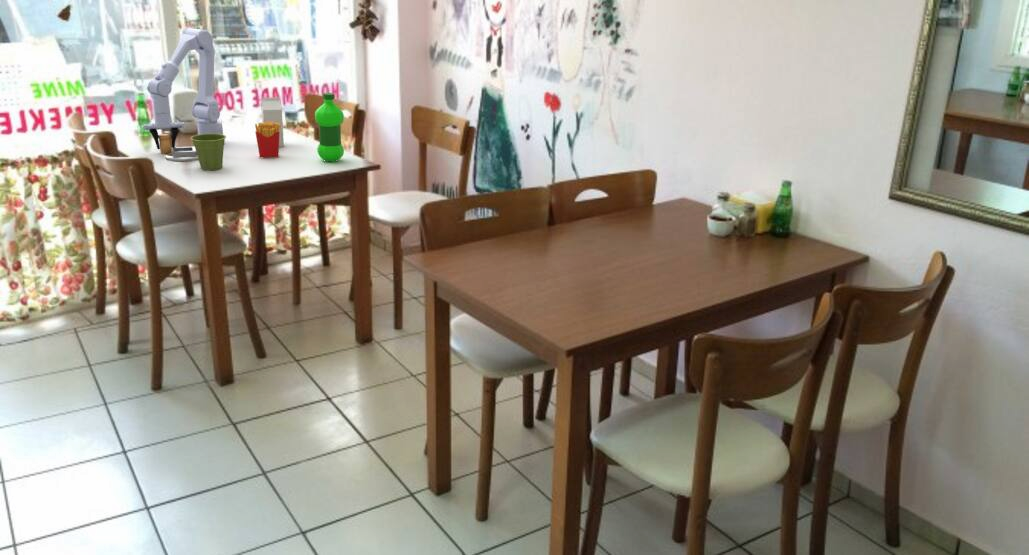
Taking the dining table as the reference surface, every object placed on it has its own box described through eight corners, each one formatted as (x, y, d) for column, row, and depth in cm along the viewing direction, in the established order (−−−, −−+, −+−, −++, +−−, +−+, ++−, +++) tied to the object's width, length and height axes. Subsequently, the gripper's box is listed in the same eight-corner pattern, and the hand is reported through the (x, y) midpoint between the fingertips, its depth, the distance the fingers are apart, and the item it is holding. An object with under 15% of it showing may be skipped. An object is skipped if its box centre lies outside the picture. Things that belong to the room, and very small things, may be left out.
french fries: (257, 158, 313) (254, 123, 309) (256, 155, 317) (254, 121, 312) (282, 157, 316) (280, 123, 311) (281, 154, 320) (279, 121, 315)
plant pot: (209, 162, 304) (206, 131, 300) (235, 166, 300) (233, 135, 296) (186, 169, 294) (182, 137, 290) (213, 174, 290) (210, 142, 286)
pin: (172, 150, 318) (171, 133, 315) (173, 153, 314) (171, 136, 311) (159, 151, 316) (157, 134, 314) (159, 154, 312) (157, 136, 309)
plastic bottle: (341, 156, 321) (339, 91, 312) (346, 163, 312) (344, 96, 303) (315, 157, 318) (312, 91, 309) (319, 164, 309) (316, 96, 300)
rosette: (219, 151, 320) (219, 142, 319) (223, 159, 309) (222, 150, 308) (165, 154, 313) (164, 145, 311) (166, 162, 302) (165, 153, 300)
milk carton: (284, 147, 332) (281, 99, 325) (265, 147, 329) (262, 99, 322) (281, 143, 338) (279, 95, 331) (263, 143, 335) (260, 96, 328)
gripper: (180, 109, 316) (184, 144, 321) (139, 111, 309) (143, 147, 314) (184, 112, 310) (187, 148, 315) (142, 114, 303) (146, 151, 308)
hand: (165, 148), depth 314 cm, fingers closed on pin, 5 cm apart
